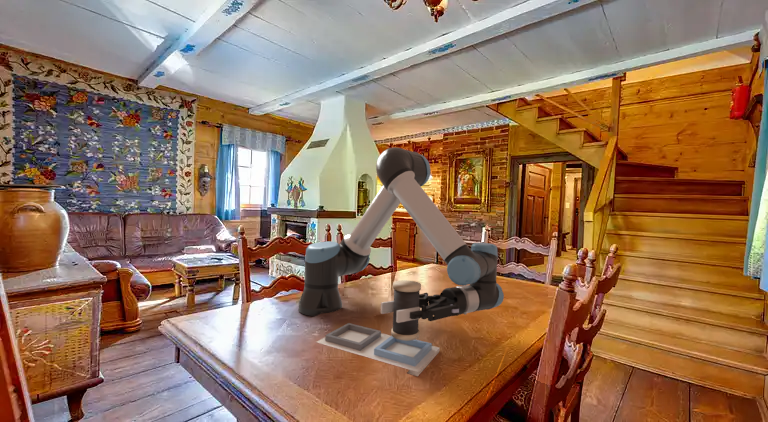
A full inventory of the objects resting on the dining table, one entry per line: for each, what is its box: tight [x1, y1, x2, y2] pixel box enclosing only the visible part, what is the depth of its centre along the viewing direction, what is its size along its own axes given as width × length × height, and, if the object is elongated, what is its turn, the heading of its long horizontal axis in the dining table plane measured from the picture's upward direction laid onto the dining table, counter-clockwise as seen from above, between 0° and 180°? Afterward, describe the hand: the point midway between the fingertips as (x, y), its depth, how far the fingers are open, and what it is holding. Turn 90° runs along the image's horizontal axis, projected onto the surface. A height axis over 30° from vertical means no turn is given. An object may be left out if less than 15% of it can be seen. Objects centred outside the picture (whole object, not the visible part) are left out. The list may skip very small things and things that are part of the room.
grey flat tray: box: [315, 322, 441, 377], centre depth 89 cm, size 29×15×2 cm, turn 62°
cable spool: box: [390, 280, 422, 341], centre depth 85 cm, size 7×7×13 cm
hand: (389, 312), depth 83 cm, fingers closed on cable spool, 6 cm apart
